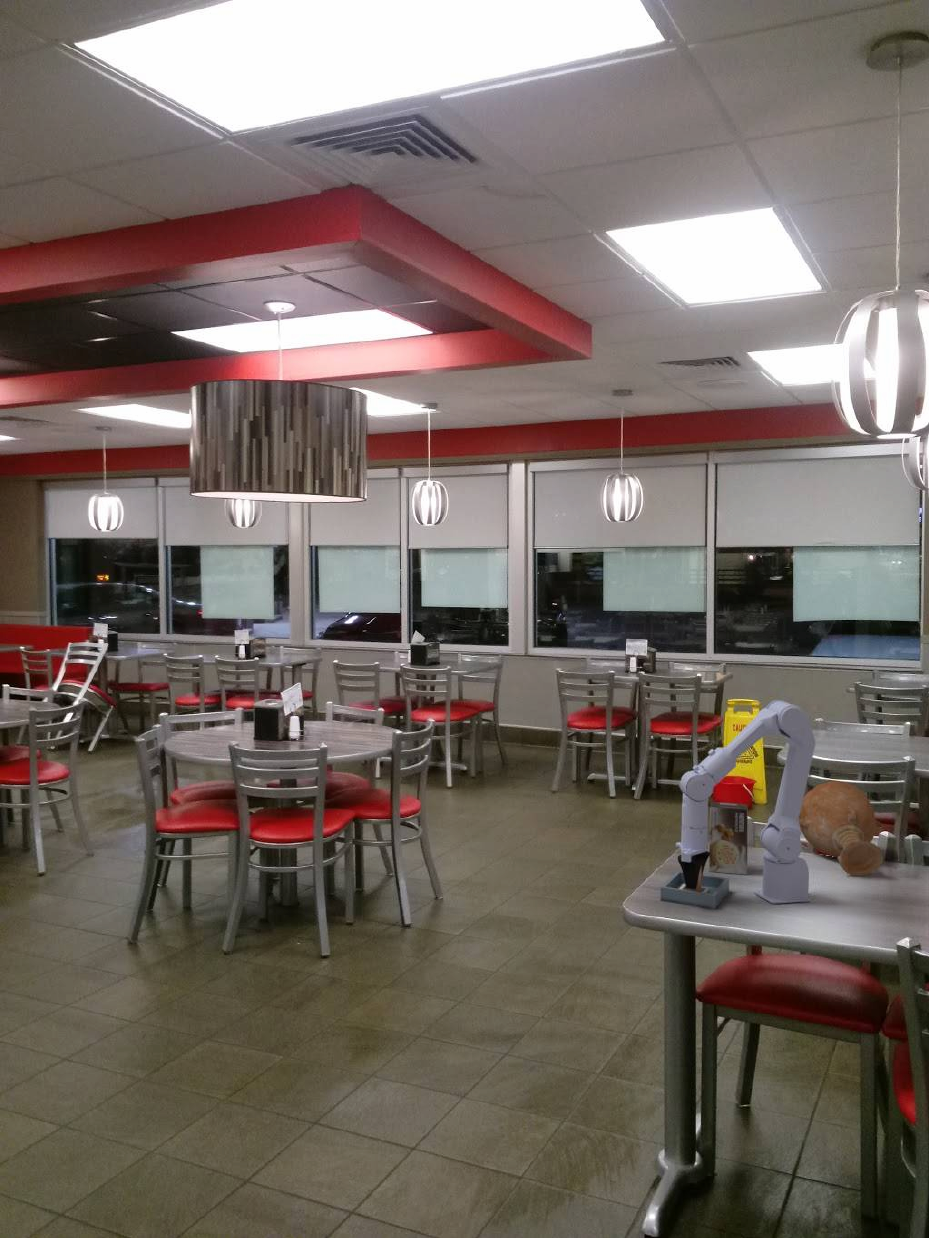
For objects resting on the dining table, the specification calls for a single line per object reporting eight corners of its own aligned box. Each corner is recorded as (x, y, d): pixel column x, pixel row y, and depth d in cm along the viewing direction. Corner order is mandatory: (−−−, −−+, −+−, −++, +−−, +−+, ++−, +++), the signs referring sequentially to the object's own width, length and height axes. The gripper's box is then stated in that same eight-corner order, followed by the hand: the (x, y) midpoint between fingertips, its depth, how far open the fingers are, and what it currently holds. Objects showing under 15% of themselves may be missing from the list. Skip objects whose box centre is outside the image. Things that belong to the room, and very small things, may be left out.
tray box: (677, 883, 241) (677, 870, 241) (728, 891, 235) (729, 878, 235) (660, 900, 228) (660, 887, 228) (714, 909, 223) (715, 895, 223)
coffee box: (747, 868, 254) (749, 803, 253) (746, 875, 248) (748, 809, 247) (709, 864, 257) (711, 800, 256) (707, 871, 251) (709, 806, 250)
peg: (697, 891, 232) (698, 861, 231) (702, 896, 229) (704, 865, 228) (684, 892, 231) (685, 861, 231) (689, 896, 228) (690, 865, 228)
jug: (879, 802, 275) (924, 846, 246) (832, 855, 278) (871, 904, 249) (821, 758, 274) (860, 796, 244) (775, 812, 277) (808, 856, 247)
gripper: (685, 816, 238) (683, 874, 238) (668, 830, 225) (666, 892, 225) (715, 820, 234) (714, 879, 235) (700, 834, 221) (698, 897, 222)
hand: (693, 885), depth 230 cm, fingers closed on peg, 3 cm apart
